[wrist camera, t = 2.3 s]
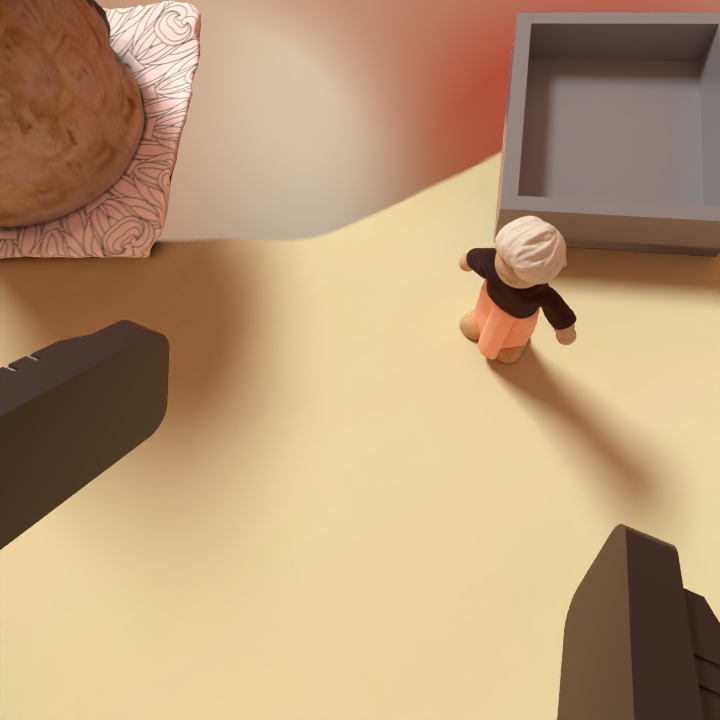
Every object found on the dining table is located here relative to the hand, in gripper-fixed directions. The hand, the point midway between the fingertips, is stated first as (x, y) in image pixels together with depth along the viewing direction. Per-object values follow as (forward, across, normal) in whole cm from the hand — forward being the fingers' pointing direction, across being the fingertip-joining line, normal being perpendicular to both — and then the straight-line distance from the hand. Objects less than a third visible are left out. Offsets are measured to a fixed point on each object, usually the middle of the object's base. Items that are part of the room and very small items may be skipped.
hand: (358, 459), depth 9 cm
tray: (+38, -3, -3) cm, 39 cm away
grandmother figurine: (+27, -1, +9) cm, 29 cm away
